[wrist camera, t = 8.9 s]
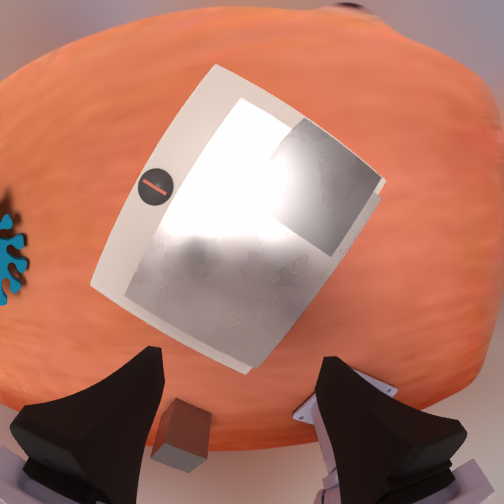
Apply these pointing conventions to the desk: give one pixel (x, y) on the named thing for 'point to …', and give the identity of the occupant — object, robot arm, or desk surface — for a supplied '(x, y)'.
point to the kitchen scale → (216, 231)
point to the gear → (10, 259)
